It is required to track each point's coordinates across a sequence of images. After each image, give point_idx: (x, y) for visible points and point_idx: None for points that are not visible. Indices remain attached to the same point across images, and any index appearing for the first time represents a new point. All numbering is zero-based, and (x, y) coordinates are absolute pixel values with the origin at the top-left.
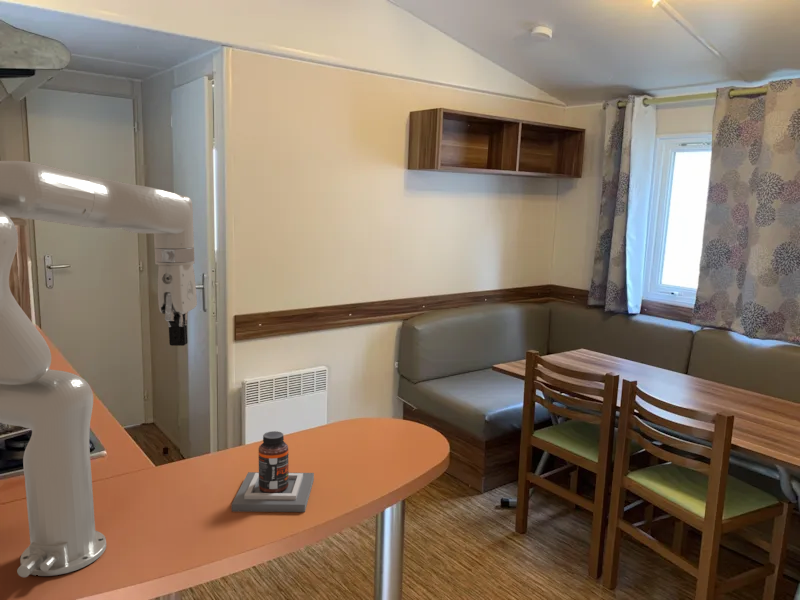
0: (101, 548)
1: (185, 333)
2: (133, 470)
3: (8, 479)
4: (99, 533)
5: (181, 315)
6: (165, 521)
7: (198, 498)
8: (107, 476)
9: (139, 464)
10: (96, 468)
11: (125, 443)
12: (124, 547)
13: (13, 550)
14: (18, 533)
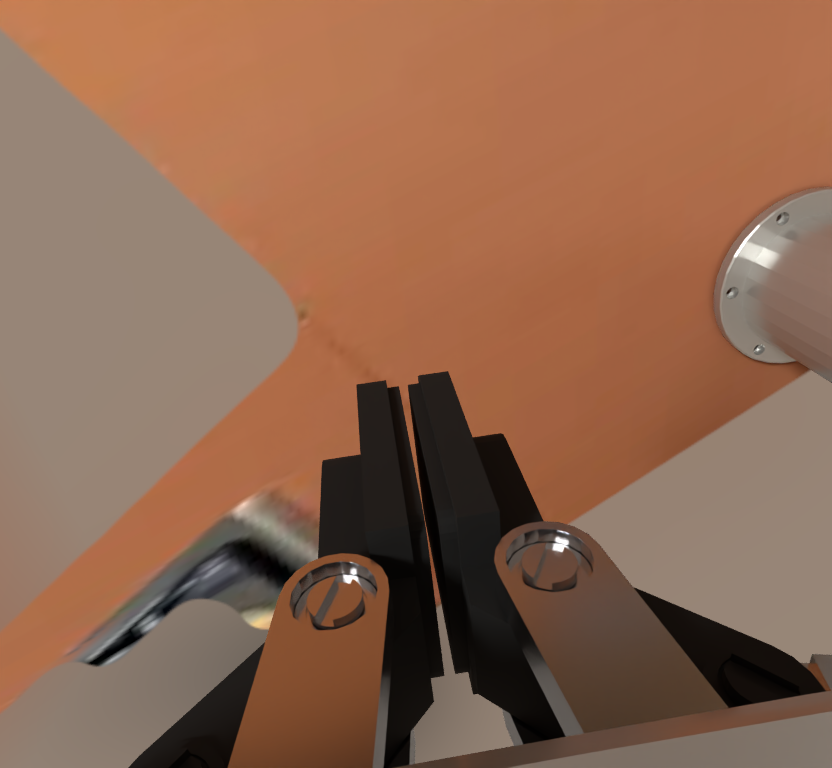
0: (826, 192)
1: (410, 453)
2: (346, 366)
3: None
4: (752, 239)
5: (653, 717)
6: (661, 100)
7: (514, 55)
8: None
9: (302, 372)
10: None
11: (165, 490)
12: (786, 150)
13: (757, 392)
14: (688, 427)
